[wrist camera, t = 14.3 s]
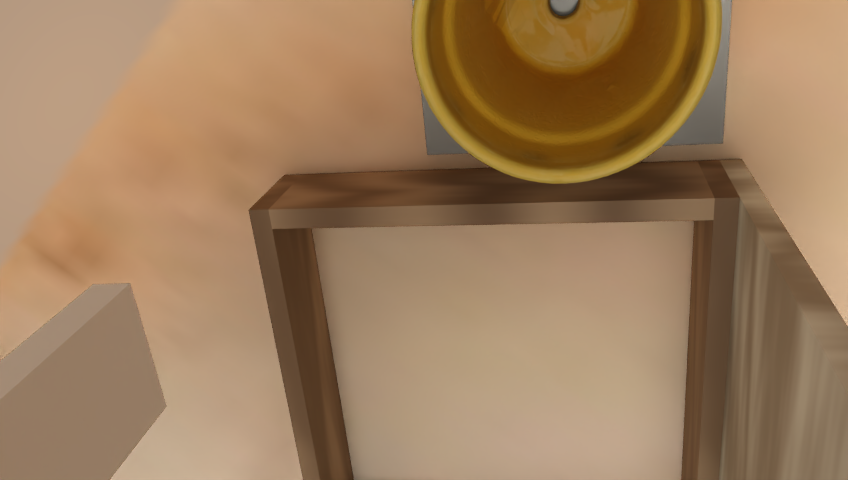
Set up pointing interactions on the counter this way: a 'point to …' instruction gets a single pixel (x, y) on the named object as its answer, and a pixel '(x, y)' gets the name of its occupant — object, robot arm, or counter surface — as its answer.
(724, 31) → the slate pad
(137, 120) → the counter surface
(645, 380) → the counter surface
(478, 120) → the plant pot
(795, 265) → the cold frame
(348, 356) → the counter surface
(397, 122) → the counter surface
